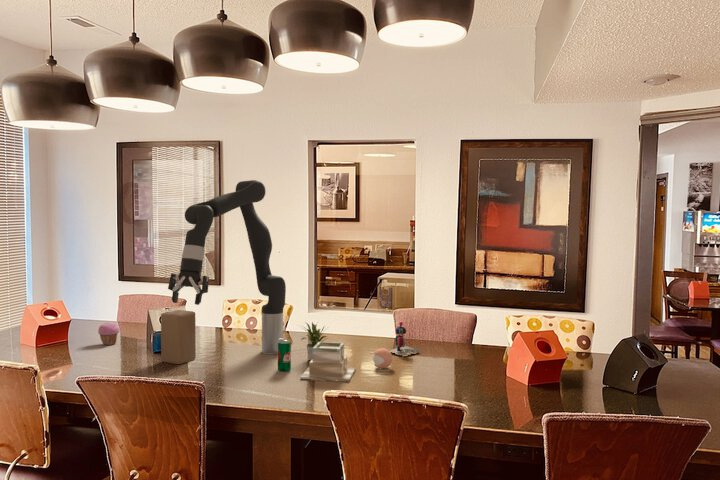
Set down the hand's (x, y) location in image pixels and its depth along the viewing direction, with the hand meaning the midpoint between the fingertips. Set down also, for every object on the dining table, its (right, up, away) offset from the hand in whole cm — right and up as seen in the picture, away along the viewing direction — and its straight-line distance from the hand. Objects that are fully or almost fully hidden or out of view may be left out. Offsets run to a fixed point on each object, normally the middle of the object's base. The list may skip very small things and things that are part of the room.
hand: (185, 303), depth 199 cm
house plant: (+42, -27, +31) cm, 59 cm away
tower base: (+50, -28, +10) cm, 58 cm away
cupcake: (-52, -25, +55) cm, 80 cm away
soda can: (+33, -28, +16) cm, 46 cm away
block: (-12, -27, +28) cm, 40 cm away
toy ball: (+71, -28, +19) cm, 79 cm away
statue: (+81, -27, +43) cm, 96 cm away
